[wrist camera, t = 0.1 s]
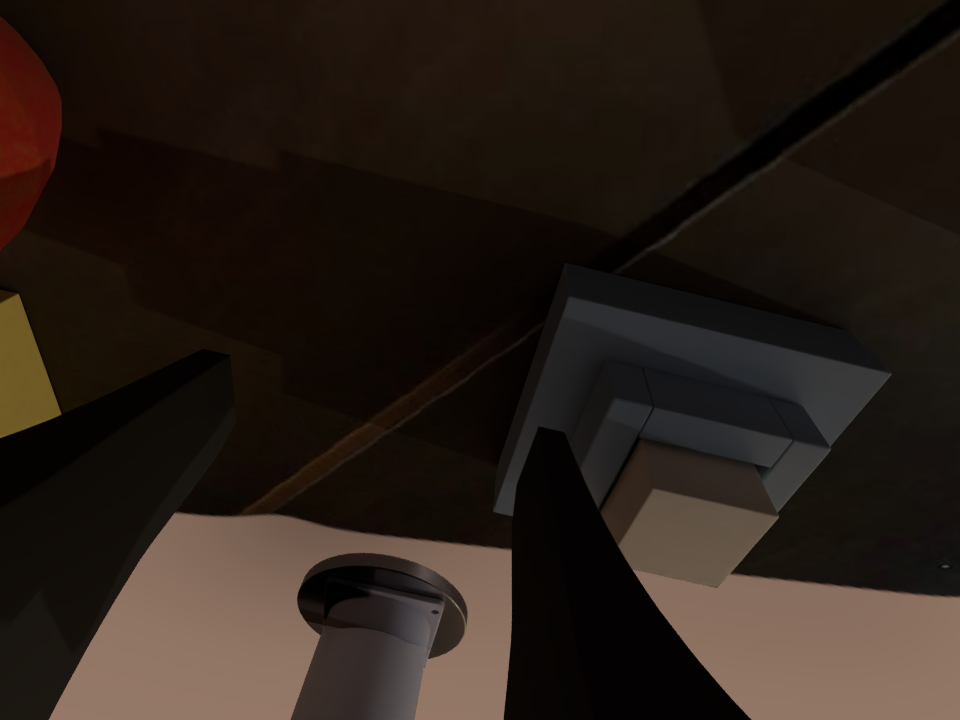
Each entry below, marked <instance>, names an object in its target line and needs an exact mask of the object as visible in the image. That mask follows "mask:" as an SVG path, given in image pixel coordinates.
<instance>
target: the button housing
mask: <svg viewBox="0 0 960 720" xmlns="http://www.w3.org/2000/svg"><path fill="white" fill-rule="evenodd" d="M59 415H61V412H60V409H59V406H58V403H57V400H56V398H55V395H54V392H53V389H52V386H51V383H50V381H49V378H48V375H47V372H46V369H45V367H44V364H43V361H42V358H41V355H40V352H39V350H38V347H37V344H36V341H35V338H34V336H33V333H32V330H31V327H30V324H29V321H28V319H27V316H26V313H25V310H24V307H23V305H22V302H21V299H20V296H19V294H18V293H14V292H9V291H5V290H1V289H0V438H2V437H4V436H7V435H10V434H13V433H16V432H18V431H21V430H24V429H26V428H29V427H32V426H34V425H37V424H40V423H42V422H45V421H47V420H50V419H52V418H55V417H57V416H59Z"/></svg>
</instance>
